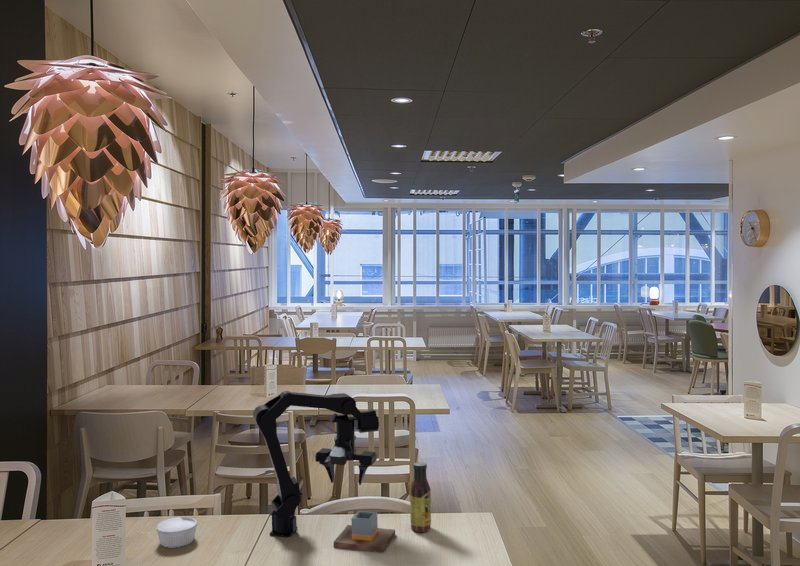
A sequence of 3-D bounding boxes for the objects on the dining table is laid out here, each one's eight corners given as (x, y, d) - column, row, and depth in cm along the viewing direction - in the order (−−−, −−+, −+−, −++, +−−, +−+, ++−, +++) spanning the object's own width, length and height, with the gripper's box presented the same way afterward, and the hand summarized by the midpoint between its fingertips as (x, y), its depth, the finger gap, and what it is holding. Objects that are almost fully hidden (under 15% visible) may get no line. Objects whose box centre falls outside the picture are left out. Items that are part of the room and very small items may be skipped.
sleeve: (351, 538, 183) (351, 518, 183) (358, 530, 189) (358, 510, 189) (371, 540, 181) (371, 520, 181) (377, 532, 187) (377, 512, 187)
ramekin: (205, 537, 189) (205, 519, 189) (177, 552, 179) (177, 534, 179) (177, 531, 194) (176, 514, 194) (148, 546, 184) (148, 528, 184)
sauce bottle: (429, 533, 189) (428, 468, 189) (408, 532, 190) (407, 467, 190) (432, 524, 196) (431, 461, 195) (412, 523, 197) (411, 460, 196)
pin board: (333, 547, 181) (333, 528, 181) (347, 529, 193) (347, 512, 193) (383, 552, 177) (383, 533, 177) (395, 534, 189) (394, 517, 189)
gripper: (307, 439, 193) (308, 490, 194) (365, 443, 188) (366, 495, 189) (321, 430, 204) (322, 478, 204) (376, 433, 199) (377, 482, 199)
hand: (346, 483), depth 199 cm, fingers open, 9 cm apart
